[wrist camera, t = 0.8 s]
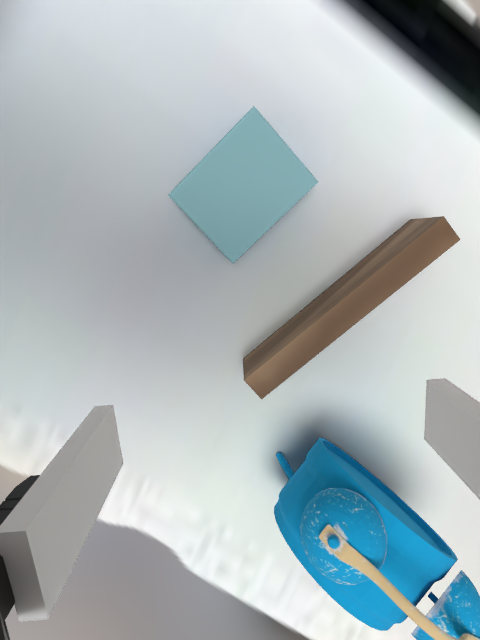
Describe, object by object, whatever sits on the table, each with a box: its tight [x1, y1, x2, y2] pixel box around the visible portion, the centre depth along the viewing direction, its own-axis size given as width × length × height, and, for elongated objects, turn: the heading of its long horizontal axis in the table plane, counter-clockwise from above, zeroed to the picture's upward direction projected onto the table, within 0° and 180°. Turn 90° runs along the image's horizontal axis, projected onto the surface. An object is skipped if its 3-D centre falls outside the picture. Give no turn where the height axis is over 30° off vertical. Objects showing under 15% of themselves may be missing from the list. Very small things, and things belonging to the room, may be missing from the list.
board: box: [243, 216, 460, 399], centre depth 35 cm, size 2×22×6 cm, turn 131°
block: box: [168, 107, 318, 263], centre depth 34 cm, size 8×10×5 cm
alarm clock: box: [274, 438, 480, 640], centre depth 33 cm, size 17×10×20 cm, turn 51°
